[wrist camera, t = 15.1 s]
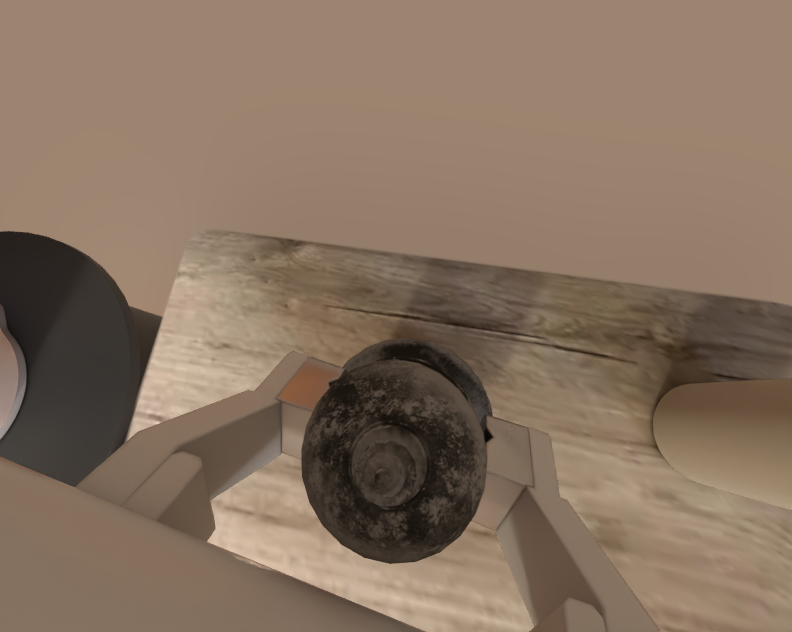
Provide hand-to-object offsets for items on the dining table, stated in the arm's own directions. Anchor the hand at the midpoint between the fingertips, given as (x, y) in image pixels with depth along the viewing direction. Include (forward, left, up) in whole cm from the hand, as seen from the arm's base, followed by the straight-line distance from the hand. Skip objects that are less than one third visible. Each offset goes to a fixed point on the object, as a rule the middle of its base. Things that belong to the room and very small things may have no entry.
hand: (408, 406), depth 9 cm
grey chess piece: (0, -1, -7) cm, 7 cm away
